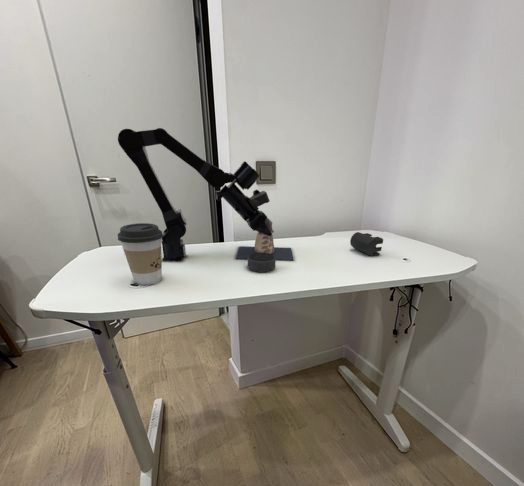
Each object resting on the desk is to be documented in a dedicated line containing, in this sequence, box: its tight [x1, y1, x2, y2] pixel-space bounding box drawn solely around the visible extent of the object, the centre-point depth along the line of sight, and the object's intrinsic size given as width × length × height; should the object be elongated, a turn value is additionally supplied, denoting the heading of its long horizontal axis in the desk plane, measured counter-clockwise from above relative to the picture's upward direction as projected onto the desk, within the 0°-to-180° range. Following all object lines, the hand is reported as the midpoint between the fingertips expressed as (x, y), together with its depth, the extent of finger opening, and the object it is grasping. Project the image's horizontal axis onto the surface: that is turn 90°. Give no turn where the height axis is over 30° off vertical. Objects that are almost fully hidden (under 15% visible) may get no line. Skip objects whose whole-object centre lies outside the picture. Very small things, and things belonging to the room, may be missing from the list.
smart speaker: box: [247, 253, 277, 273], centre depth 92 cm, size 9×9×4 cm
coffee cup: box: [117, 222, 163, 286], centre depth 79 cm, size 11×11×15 cm
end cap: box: [349, 231, 384, 257], centre depth 109 cm, size 10×7×7 cm
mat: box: [235, 245, 295, 262], centre depth 106 cm, size 20×14×1 cm
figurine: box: [254, 217, 275, 254], centre depth 103 cm, size 7×7×12 cm
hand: (268, 233), depth 103 cm, fingers closed on figurine, 6 cm apart
